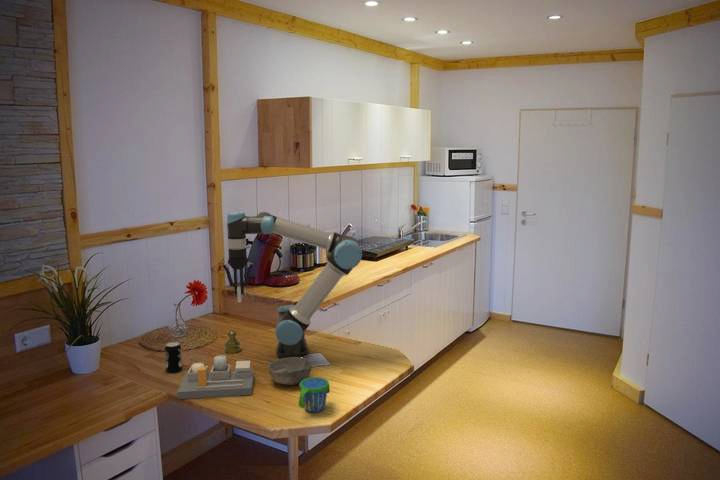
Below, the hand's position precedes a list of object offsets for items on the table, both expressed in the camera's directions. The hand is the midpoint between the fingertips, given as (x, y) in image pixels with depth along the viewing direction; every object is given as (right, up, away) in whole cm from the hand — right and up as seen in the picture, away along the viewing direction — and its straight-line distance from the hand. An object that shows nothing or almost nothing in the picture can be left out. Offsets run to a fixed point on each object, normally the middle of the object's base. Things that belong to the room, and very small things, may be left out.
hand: (239, 301), depth 248 cm
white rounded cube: (-14, -29, -15) cm, 35 cm away
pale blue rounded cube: (-5, -26, -15) cm, 30 cm away
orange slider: (-9, -30, -24) cm, 40 cm away
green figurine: (-8, -26, +24) cm, 36 cm away
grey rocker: (+4, -25, -14) cm, 29 cm away
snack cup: (+35, -36, -37) cm, 62 cm away
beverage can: (-28, -30, 0) cm, 41 cm away
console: (-5, -33, -18) cm, 38 cm away
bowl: (+23, -32, -12) cm, 42 cm away
